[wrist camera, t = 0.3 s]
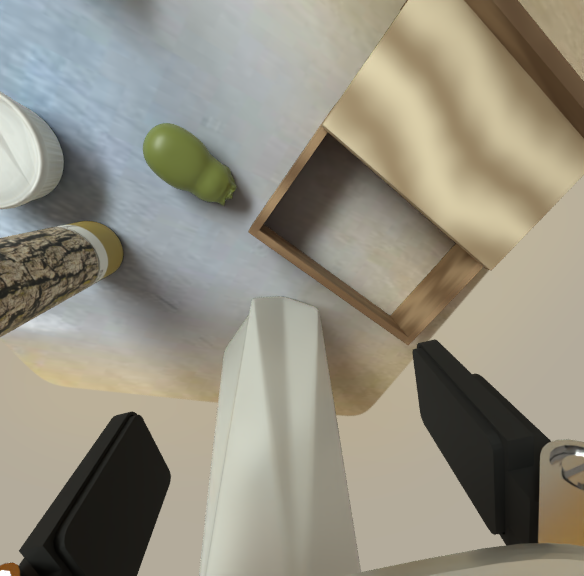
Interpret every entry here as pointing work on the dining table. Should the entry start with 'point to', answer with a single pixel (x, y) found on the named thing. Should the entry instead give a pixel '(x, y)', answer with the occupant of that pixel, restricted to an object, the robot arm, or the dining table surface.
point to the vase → (277, 454)
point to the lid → (468, 120)
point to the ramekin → (26, 155)
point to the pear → (187, 163)
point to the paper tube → (52, 268)
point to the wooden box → (401, 323)
